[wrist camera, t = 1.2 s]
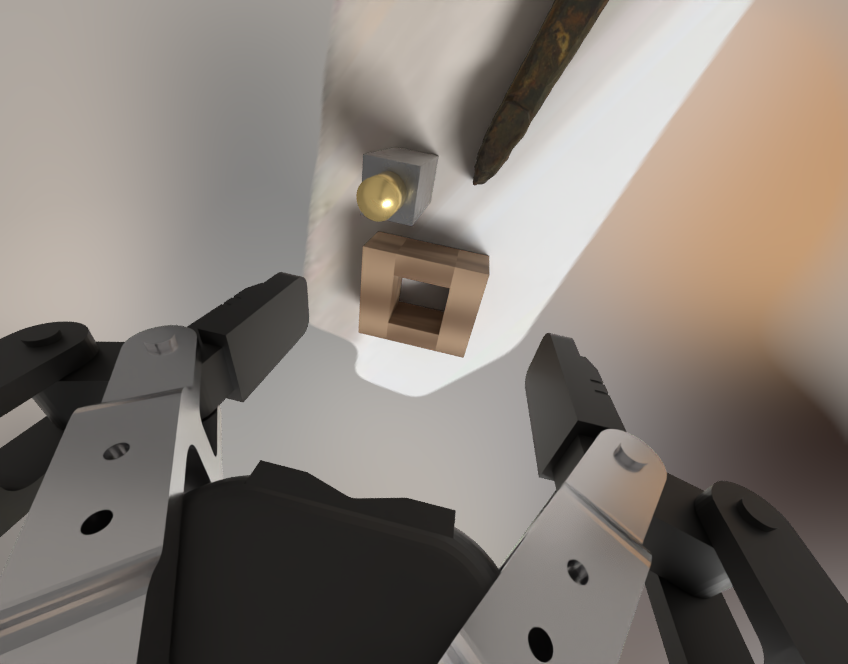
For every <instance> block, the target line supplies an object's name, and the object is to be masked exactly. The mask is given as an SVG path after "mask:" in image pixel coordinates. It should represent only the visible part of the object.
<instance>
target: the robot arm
mask: <svg viewBox="0 0 848 664" xmlns="http://www.w3.org/2000/svg"><path fill="white" fill-rule="evenodd" d="M308 323H309V309H308V293H307V282H306V280H305V278H304V277H301V276H296V275H291V274H287V273H283V272H279V273H277V274H276V275H274V276H273V277H272V278H270V279H268V280H267V281H266V282H264V283H260V284H257V285H254V286H251V287H248V288H245V289H244V290H242V291H241V292H239V293H238V294H236V295H235V296H234V298H231V299H229V300H227V301H226V302H224V304H223V305H222V304H221V305H220V306H218V307H216V308H215V309H213V310H212V311H210V312H209V313H207V314H206V315H204V316H203V317H201V318H200V319H198V320H197V321H195V322H194V323H192V324H191V325H189V326H188V327H184V326H178V325H168V326H160V327H155V328H151V329H147V330H145V331H142V332H139V333H137V334H135V335H134V336H132V337H130V338H129V339H128V340H127V341H126V342H95V340H94V338H93V336H92V335H91V333H90V331H89V330H88V328H87V327H86V326H85V325H83V324H81V323H77V322H52V323H45V324H40V325H36V326H32V327H28V328H25V329H22V330H19V331H17V332H15V333H12V334H10V335H8V336H6V337H3V338H1V339H0V417H2V416H3V415H5V414H7V413H8V412H10V411H11V410H13V409H14V408H16V407H18V406H19V405H21V404H22V403H24V402H26V401H27V400H29V399H30V398H33V399H34V400H35V402H36V403H37V404H38V406H39V407H40V408H41V409H42V410H43V412H44V413H45V414H46V415H47V416H46V417H45V418H43V419H42V420H40V421H39V422H37V423H36V424H34V425H33V426H32V427H30V428H29V429H27V430H26V431H24V432H23V433H22V434H20V435H19V436H17V437H16V438H14V439H13V440H11V441H10V442H9V443H7V444H6V445H4V446H3V447H1V448H0V537H1V536H2V535H3V534H4V533H5V532H7V531H8V530H9V529H10V528H11V527H12V526H13V525H14V524H16V523H17V522H18V521H19V520H20V519H21V518H22V517H24V516H25V515H26V514H27V513H28V512H29V513H28V515H27V517H26V520H25V522H24V524H23V526H22V529H21V531H20V533H19V536H18V538H17V540H16V542H15V545H14V547H13V549H12V551H11V554H10V556H9V558H8V560H7V563H6V565H5V567H4V570H3V572H2V574H1V576H0V664H618V662H619V659H620V656H621V653H622V650H623V647H624V644H625V641H626V638H627V635H628V632H629V629H630V626H631V623H632V620H633V617H634V614H635V611H636V608H637V605H638V602H639V599H640V596H641V593H642V590H643V587H644V584H645V586H646V588H647V592H648V595H649V599H650V602H651V605H652V608H653V612H654V615H655V618H656V621H657V625H658V628H659V632H660V635H661V638H662V641H663V645H664V648H665V651H666V654H667V658H668V661H669V664H755V663H754V661H753V659H752V657H751V655H750V652H749V650H748V648H747V646H746V644H745V642H744V640H743V637H742V635H741V633H740V631H739V629H738V627H737V625H736V622H735V620H734V618H733V616H732V614H731V612H730V610H729V607H728V605H727V603H726V601H725V599H724V597H723V595H722V592H723V591H725V590H727V589H729V588H732V587H733V588H734V590H735V591H736V594H737V596H738V598H739V600H740V602H741V604H742V606H743V608H744V610H745V612H746V614H747V616H748V618H749V620H750V622H751V624H752V626H753V628H754V630H755V632H756V634H757V636H758V638H759V640H760V643H761V645H762V648H763V653H764V664H848V603H847V602H846V600H845V599H844V597H843V596H842V595H841V594H840V592H839V591H838V589H837V588H836V586H835V585H834V584H833V582H832V581H831V579H830V578H829V577H828V575H827V574H826V573H825V571H824V570H823V568H822V567H821V566H820V564H819V563H818V562H817V560H816V559H815V557H814V556H813V555H812V553H811V552H810V551H809V549H808V548H807V546H806V545H805V544H804V542H803V541H802V539H801V538H800V537H799V535H798V534H797V533H796V531H795V530H794V528H793V527H792V526H791V525H790V523H789V522H788V521H787V520H786V519H785V518H784V516H783V515H782V514H781V513H780V512H779V511H777V510H776V509H775V508H774V507H773V506H772V505H771V504H769V503H768V502H767V501H766V500H764V499H763V498H761V497H760V496H759V495H757V494H755V493H754V492H752V491H750V490H748V489H747V488H745V487H743V486H740V485H738V484H735V483H732V482H728V481H719V482H716V483H714V484H713V485H712V486H710V487H709V488H708V489H706V490H705V491H703V490H701V489H699V488H697V487H695V486H693V485H691V484H689V483H687V482H685V481H683V480H681V479H679V478H677V477H675V476H673V475H671V474H669V473H667V472H666V469H665V466H664V464H663V462H662V461H661V459H660V458H659V456H658V455H657V454H656V453H655V452H654V451H653V450H652V449H651V448H650V447H649V446H648V445H647V444H645V443H644V442H643V441H641V440H640V439H639V438H637V437H635V436H633V435H631V434H629V433H627V432H626V430H625V428H624V426H623V423H622V421H621V419H620V417H619V415H618V413H617V411H616V408H615V407H614V404H613V402H612V400H611V398H610V396H609V395H608V392H607V389H606V387H605V385H603V381H602V378H601V376H600V374H599V372H598V370H597V369H596V368H595V367H594V366H593V365H592V364H591V362H590V361H589V360H588V359H587V358H586V357H582V356H580V354H579V352H578V350H577V347H576V345H575V342H574V340H573V339H572V338H568V337H564V336H560V335H555V334H551V333H547V334H545V336H544V337H543V339H542V341H541V343H540V345H539V348H538V349H537V352H536V354H535V356H534V358H533V360H532V362H531V364H530V366H529V369H528V371H527V374H526V379H525V389H526V396H527V403H528V409H529V416H530V421H531V429H532V434H533V442H534V448H535V455H536V461H537V467H538V474H539V477H541V478H544V479H549V480H553V481H555V485H556V491H555V492H554V493H553V495H552V496H551V497H550V499H549V500H548V501H547V503H546V504H545V505H544V507H543V508H542V510H541V511H540V512H539V514H538V515H537V517H536V518H535V519H534V521H533V522H532V523H531V525H530V526H529V527H528V529H527V530H526V532H525V533H524V534H523V536H522V537H521V538H520V540H519V541H518V543H517V544H516V545H515V547H514V548H513V549H512V551H511V552H510V553H509V555H508V556H507V557H506V558H505V560H504V561H503V563H502V564H501V565H500V567H499V568H497V566H496V565H495V563H494V562H493V561H492V559H491V558H490V557H489V556H488V555H487V554H486V552H485V551H484V550H483V549H482V548H481V547H480V546H479V545H478V544H477V543H476V542H475V541H474V540H472V539H471V538H470V537H469V536H467V535H466V534H465V533H463V532H462V531H460V530H459V529H457V528H455V527H454V523H455V510H451V509H448V508H444V507H440V506H436V505H432V504H428V503H425V502H421V501H417V500H413V499H409V498H362V499H357V498H351V497H348V496H346V495H344V494H343V493H341V492H339V491H338V490H336V489H334V488H333V487H331V486H329V485H328V484H326V483H324V482H323V481H321V480H319V479H318V478H316V477H314V476H313V475H311V474H309V473H308V472H304V471H300V470H296V469H293V468H288V467H285V466H281V465H277V464H273V463H269V462H265V461H262V460H260V462H259V463H258V465H257V466H256V468H255V469H254V471H253V472H252V474H251V475H247V476H238V477H231V478H226V479H224V478H223V472H222V423H221V422H222V420H221V419H222V416H221V414H222V413H221V408H220V404H221V403H222V402H223V401H224V400H225V398H228V399H232V400H236V401H240V402H244V401H245V400H246V399H247V398H248V396H249V395H250V394H251V393H252V392H253V391H254V390H255V388H256V387H257V386H258V385H259V384H260V383H261V382H262V381H263V380H264V378H265V377H266V376H267V375H268V374H269V373H270V372H271V371H272V370H273V368H274V367H275V366H276V365H277V364H278V363H279V362H280V361H281V359H282V358H283V357H284V356H285V355H286V354H287V353H288V351H289V350H290V349H291V348H292V347H293V346H294V345H295V344H296V343H297V341H298V340H299V339H300V338H301V337H302V336H303V335H304V333H305V331H306V329H307V327H308Z"/></svg>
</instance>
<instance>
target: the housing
mask: <svg viewBox="0 0 848 664" xmlns="http://www.w3.org/2000/svg"><path fill="white" fill-rule="evenodd" d="M402 277H403V278H407V279H411V280H416V281H420V282H424V283H429V284H433V285H437V286H442V287H446V288H450V290H449V294H448V298H447V303H446V307H445V311H444V312H443V311H439V310H435V309H430V308H426V307H422V306H418V305H413V304H409V303H405V302H400V301H399V298H400V291H401V283H402ZM488 278H489V256H487V255H482V254H478V253H473V252H469V251H464V250H460V249H455V248H451V247H446V246H442V245H437V244H433V243H429V242H424V241H420V240H415V239H411V238H406V237H402V236H397V235H393V234H388V233H384V232H379V231H378V232H377V233H376V234H375V235H374V236H373V237H372V238H371V239H370V240H369V241H368V242H367V243H366V244H365V245H364V246H363V253H362V273H361V293H360V313H359V333H363V334H367V335H371V336H375V337H379V338H383V339H388V340H392V341H396V342H400V343H404V344H408V345H413V346H417V347H421V348H425V349H429V350H434V351H438V352H442V353H446V354H450V355H454V356H459V357H464V354H465V351H466V348H467V345H468V341H469V338H470V335H471V332H472V329H473V325H474V322H475V319H476V316H477V313H478V310H479V306H480V303H481V300H482V297H483V294H484V290H485V287H486V284H487V281H488Z"/></svg>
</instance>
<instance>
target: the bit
mask: <svg viewBox="0 0 848 664" xmlns="http://www.w3.org/2000/svg"><path fill="white" fill-rule="evenodd" d="M437 162H438V156H437V155H432V154H428V153H423V152H418V151H413V150H408V149H404V148H399V147H393V148H389V149H384V150H380V151H375V152H370V153H366V154H363V171H362V183H361V184H360V186H359V187H358V190H357V204H358V206H359V209H360V210H361V215H364V216H366V217H367V218H369V219H370V220H373V221H385V220H387V221H391V222H396V223H400V224H405V225H409V226H413V225H414V223H415V222H416V221H417V219H418V218H419V217H420V215H421V214H422V213H423V211H424V210H425V209H426V208H427V206H428V205H429V204H430V202H431V198H432V192H433V186H434V180H435V174H436V168H437Z"/></svg>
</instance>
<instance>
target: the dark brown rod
mask: <svg viewBox="0 0 848 664" xmlns="http://www.w3.org/2000/svg"><path fill="white" fill-rule="evenodd" d="M608 1H609V0H555V2H554V4H553V6H552V8H551V10H550V12H549V13H548V15H547V17H546V19H545V21H544V23H543V25H542V27H541V29H540V31H539V33H538V35H537V37H536V39H535V41H534V43H533V45H532V46H531V48H530V50H529V52H528V54H527V56H526V58H525V60H524V62H523V64H522V66H521V67H520V69H519V71H518V73H517V75H516V77H515V79H514V81H513V83H512V85H511V87H510V88H509V90H508V92H507V93H506V95H505V98H504V100H503V102H502V104H501V106H500V108H499V109H498V111H497V113H496V114H495V116H494V118H493V120H492V123H491V125H490V127H489V128H488V130H487V132H486V135H485V137H484V139H483V143H482V146H481V148H480V150H479V152H478V156H477V162H476V164H475V175H474V179H473V185H477V184H484V183H485V182H487V181H488V180H489V179H490V178H492V177H493V176H494V175H495V174H496V173H497V172H498V171H499V169H500V168H501V167H502V165H503V164H504V163H505V162H506V161H507V160H508V158H509V155H510V153H511V151H512V149H513V148H514V147H515V146H516V145H517V143H518V142H519V141H520V140H521V139H522V138H523V136H524V135H525V133H526V132H527V129H528V127H529V125H530V123H531V121H532V120H533V118H534V117H535V115H536V114H537V112H538V111H539V109H540V108H541V106H542V104H543V103H544V101H545V99H546V98H547V96H548V95H549V93H550V92H551V90H552V88H553V87H554V85H555V83H556V82H557V81H558V79H559V78H560V76H561V75H562V73H563V71H564V70H565V68H566V67H567V65H568V64H569V63H570V61H571V60H572V58H573V57H574V55H575V53H576V52H577V50H578V49H579V47H580V45H581V44H582V42H583V40H584V39H585V37H586V36H587V34H588V33H589V31H590V30H591V28H592V27H593V25H594V23H595V22H596V20H597V18H598V17H599V15H600V13H601V12H602V10H603V9H604V7H605V6H606V4H607V3H608Z"/></svg>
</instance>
